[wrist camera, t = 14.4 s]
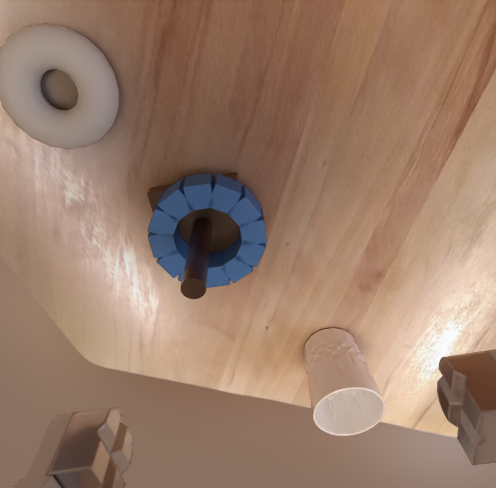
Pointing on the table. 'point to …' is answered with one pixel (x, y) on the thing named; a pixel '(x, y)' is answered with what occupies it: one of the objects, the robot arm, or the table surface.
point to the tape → (219, 198)
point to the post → (201, 240)
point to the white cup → (341, 384)
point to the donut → (76, 67)
